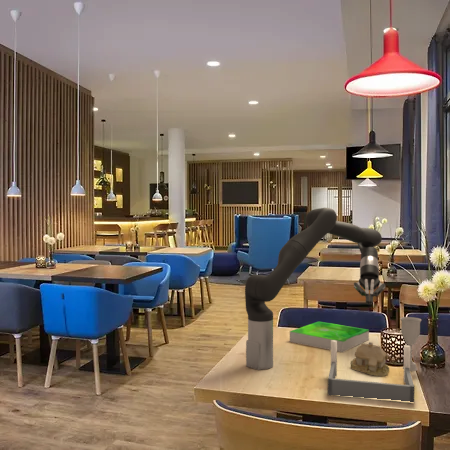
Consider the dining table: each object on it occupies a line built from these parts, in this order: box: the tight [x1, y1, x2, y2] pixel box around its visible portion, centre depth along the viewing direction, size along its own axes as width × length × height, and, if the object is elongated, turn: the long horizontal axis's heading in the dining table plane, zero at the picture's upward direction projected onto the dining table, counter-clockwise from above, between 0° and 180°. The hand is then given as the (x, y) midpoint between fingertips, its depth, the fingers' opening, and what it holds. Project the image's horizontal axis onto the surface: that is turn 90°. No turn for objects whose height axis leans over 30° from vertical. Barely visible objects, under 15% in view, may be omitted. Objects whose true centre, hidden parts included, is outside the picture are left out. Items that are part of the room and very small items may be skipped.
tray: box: [289, 321, 370, 353], centre depth 217 cm, size 25×25×5 cm
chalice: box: [399, 316, 422, 372], centre depth 179 cm, size 7×7×18 cm
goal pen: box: [327, 340, 415, 403], centre depth 160 cm, size 20×26×12 cm
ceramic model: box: [349, 342, 390, 377], centre depth 178 cm, size 14×11×10 cm
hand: (369, 303), depth 198 cm, fingers closed
